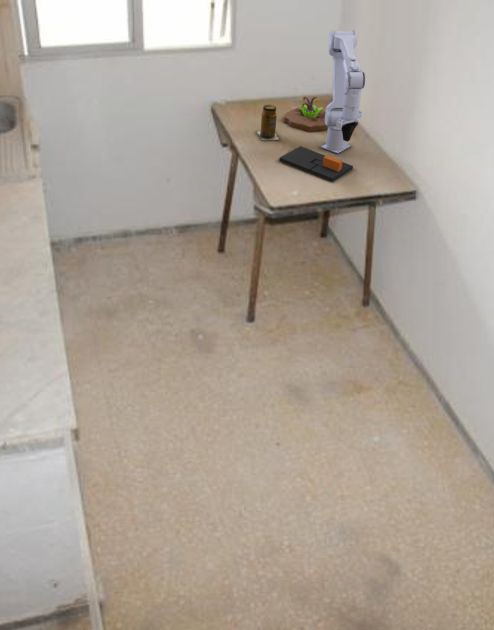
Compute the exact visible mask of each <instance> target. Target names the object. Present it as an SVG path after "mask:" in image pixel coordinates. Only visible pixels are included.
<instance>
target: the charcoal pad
mask: <svg viewBox="0 0 494 630" xmlns="http://www.w3.org/2000/svg"><path fill="white" fill-rule="evenodd" d="M312 163H313V164H316V165H317V166H316V167H314V168H312V169H311V170H310V173H309V174H311V175H314V176H316V177H318V178H322V179H323V180H326V181H328V182H332V183H333V182H335V181H336V180H338V179H340V178H341V177H343V176H345V175H346V174H347V173H350V171H353V168H354V165H352V164H349V163H346V162H344V161H343V160H341V159H338V158H336V157H333V156H330V155H325V157H324V158H323V162H322V161H319V160H315V161H314V162H312Z"/></svg>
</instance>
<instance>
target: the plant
mask: <svg viewBox="0 0 494 630" xmlns="http://www.w3.org/2000/svg"><path fill="white" fill-rule="evenodd" d="M301 100H302V101H307V102H304V103H302V104H299V105H298V107H295V108H292V109H290V110H289V111H286V113H285V114H284V118H283V123H284V124H285V123H286V124H288V125H289V126H290V127H292V128H295V129H298V130H302V131H305V132H309V133H310V132H320V131H324V130H328V126H326V124H325V113H326V111H324V110H323V107H317V105H316V104H314V101H315V102H316V103H318V102H319V98H318V97H317V96H313V97H312V98H311V99H309V98H308V97H307V96H303V97H302V98H301Z"/></svg>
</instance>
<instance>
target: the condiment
mask: <svg viewBox="0 0 494 630" xmlns="http://www.w3.org/2000/svg"><path fill="white" fill-rule="evenodd" d="M277 116H278V115H277V106H276V105H274V104H265V105H263V107H262V113H261V119H260V120H261V121H260V130H259V131H258V130H257V131H256V133H257V135H258V136H259V139H260V140H261V141H277V140H280V138H279V137H278V135H277V133H276V129H277V118H278V117H277Z"/></svg>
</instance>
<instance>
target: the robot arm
mask: <svg viewBox="0 0 494 630" xmlns="http://www.w3.org/2000/svg"><path fill="white" fill-rule="evenodd" d="M327 43H328V45H327V46H328V47H327V49H328V50H327V51H328V55H330V56H331V57H332V62H333V63H332V64H333V65H332V66H333V68H332V69H333V70H332V72H333V73H332V75H333V76H332V78H333V79H332V101H331V102H330V103H328V104H327V105H326V106H325V112H326V113H325V124H326V126H328V128H327V132H326V139H325V140H326V141H325V144H323V145H321V147H320V148H321V149H324V150H326V151H329V152H331V153H335V154H339V153H342V152H343V151H345V150H347V149H348V148H350V147H351V145H350V144H349V142H350V140H351V138H352V136H353V133H354V131H355V129H356V128H357V126H358V125H359V122H360V121H361V118H362V116H363V111H360V110H359V109H360V102H361V96H362V91H363V89H364V88H365V86H366V73H365V71H364V70H363V69H361V65H360V62H359V59H358V58H357V57H356V56H355V49H356V47H357V44H358V33H357V31H356V30H333V29H332V30H330V32H329V34H328V42H327Z"/></svg>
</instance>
